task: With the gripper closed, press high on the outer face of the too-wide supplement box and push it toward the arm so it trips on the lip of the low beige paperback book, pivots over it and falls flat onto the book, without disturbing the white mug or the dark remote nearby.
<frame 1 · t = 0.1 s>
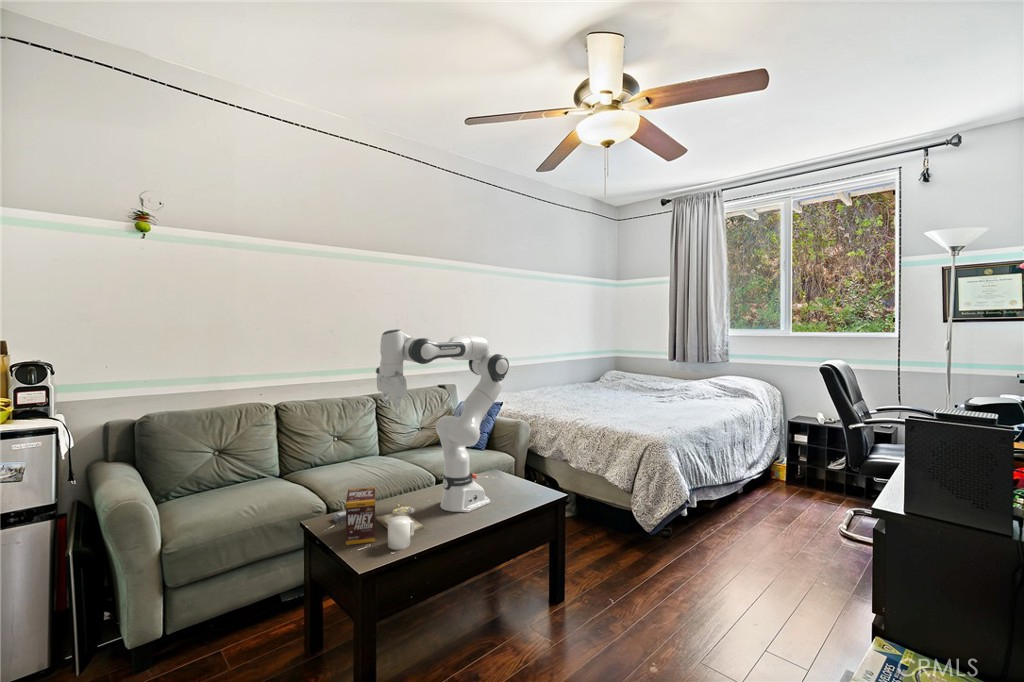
hand: (391, 405, 188), 48 cm above the table, fingers open, 8 cm apart
supplement box: (361, 535, 181), on the table
beige paperback book: (399, 523, 191), on the table
white mug: (399, 544, 173), on the table
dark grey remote: (354, 517, 197), on the table
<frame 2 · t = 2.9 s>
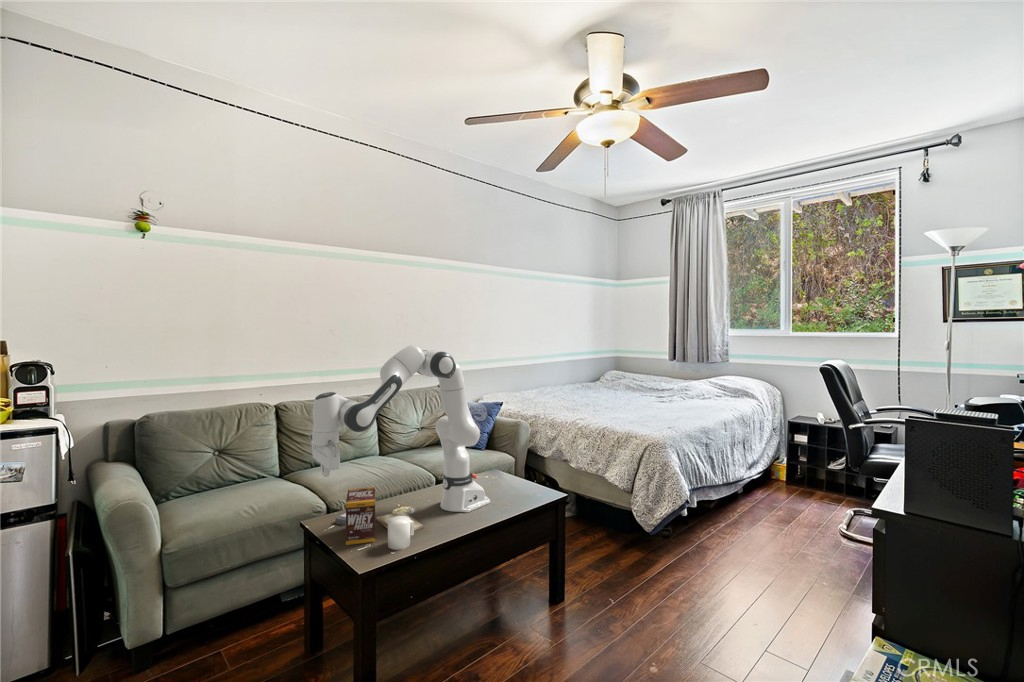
hand: (325, 475, 171), 25 cm above the table, fingers closed
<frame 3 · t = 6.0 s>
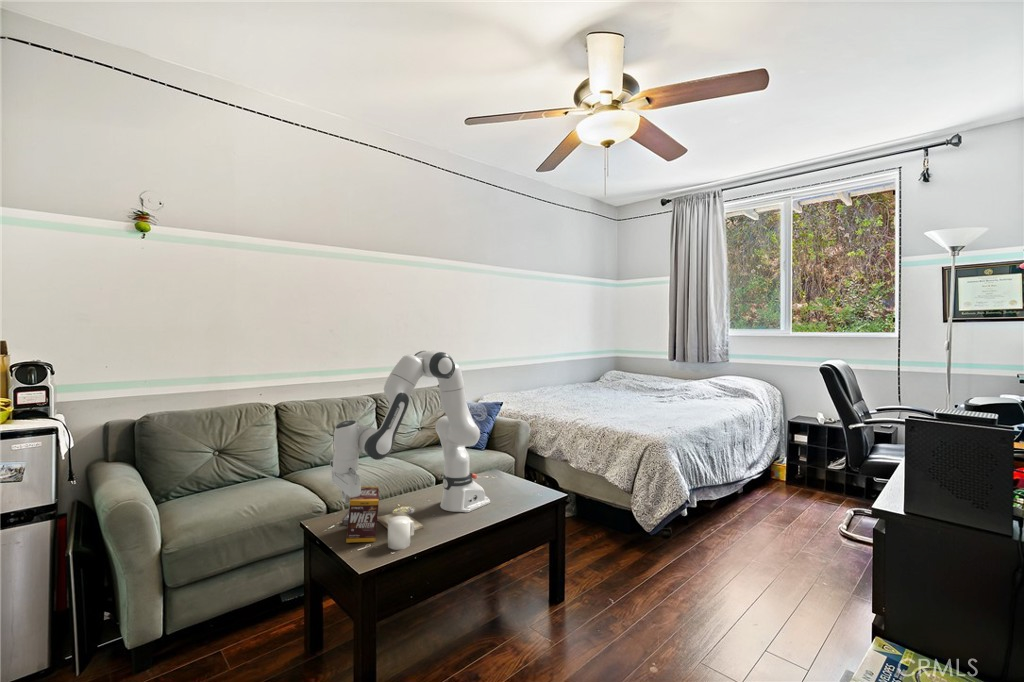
hand: (346, 501, 176), 14 cm above the table, fingers closed
supplement box: (361, 534, 181), on the table, touching gripper
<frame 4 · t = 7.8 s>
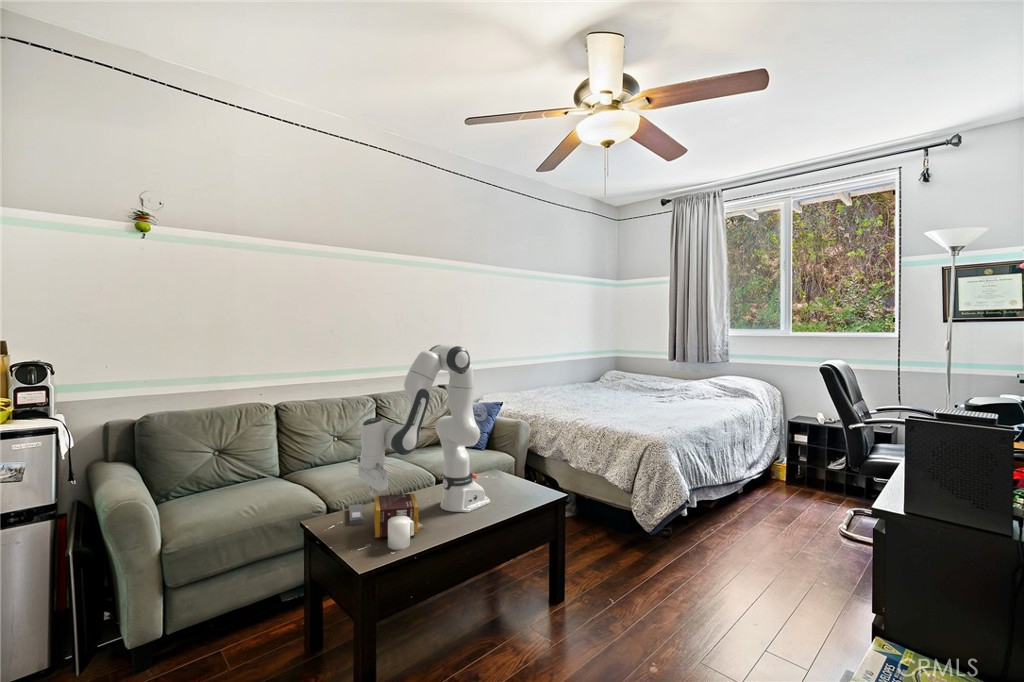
hand: (373, 495, 183), 14 cm above the table, fingers closed
supplement box: (374, 516, 182), point 7 cm above the table, touching beige paperback book
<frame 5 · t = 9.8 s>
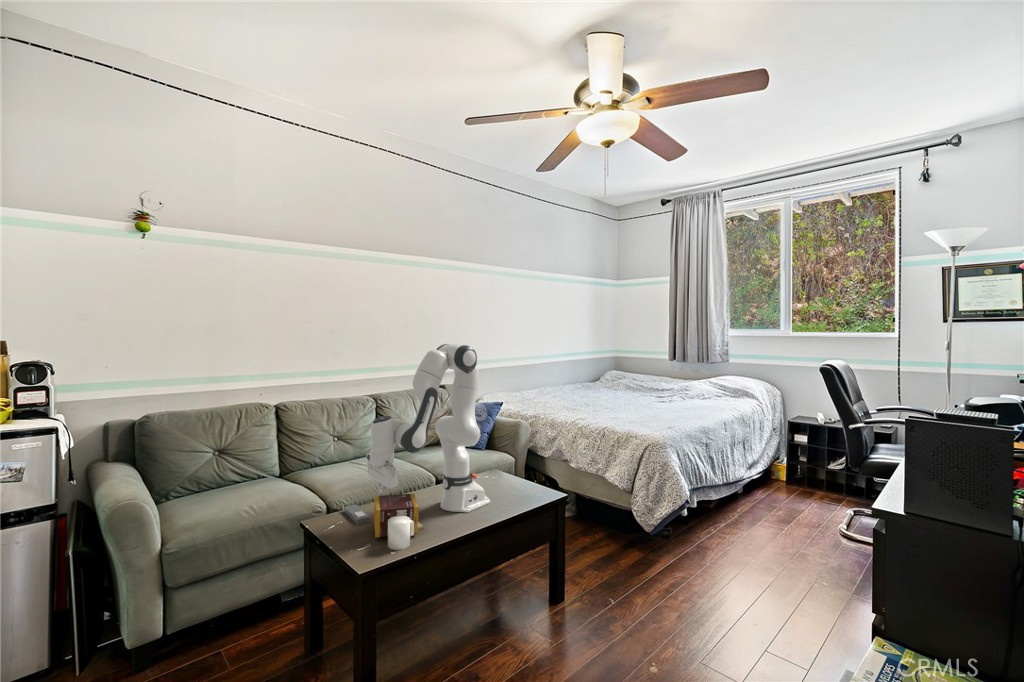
hand: (382, 493, 185), 14 cm above the table, fingers closed
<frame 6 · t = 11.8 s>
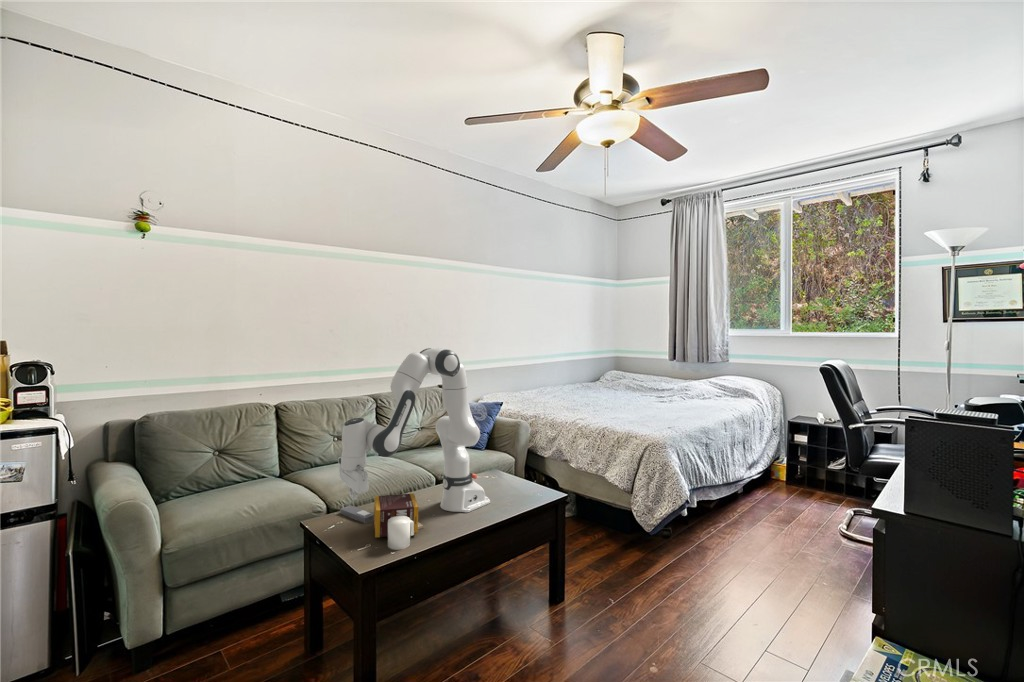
hand: (353, 498, 178), 15 cm above the table, fingers closed
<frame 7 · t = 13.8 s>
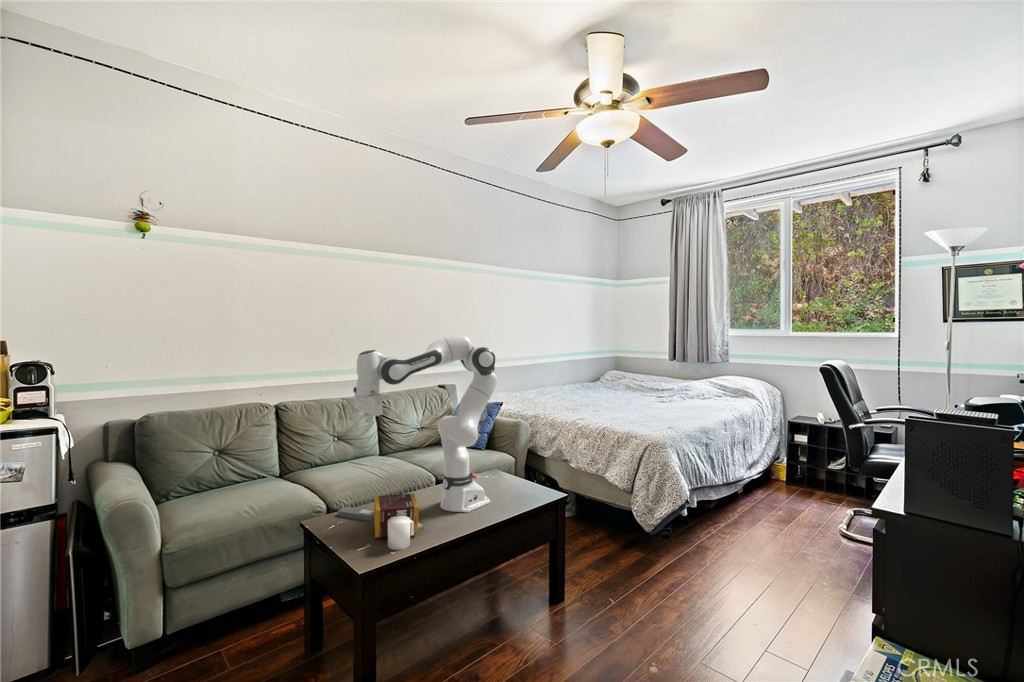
hand: (369, 423, 196), 39 cm above the table, fingers closed
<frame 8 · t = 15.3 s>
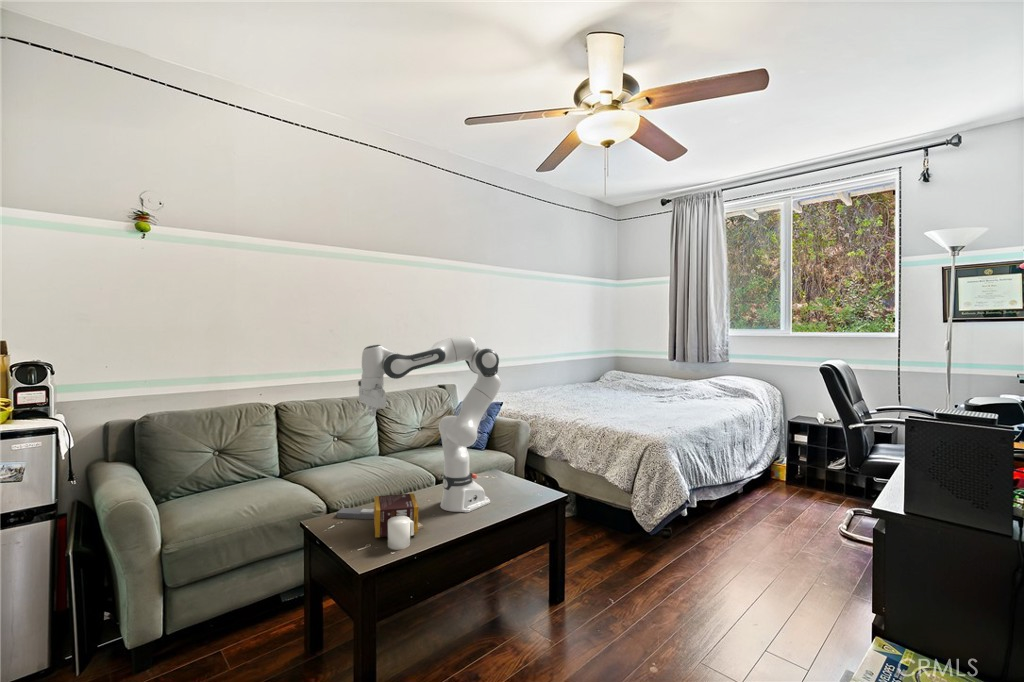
hand: (372, 416, 200), 41 cm above the table, fingers closed
at the end: supplement box tilted 91°; supplement box inside the target area (12.1 cm from its centre), point 6.5 cm above the table; white mug moved 0.1 cm from its start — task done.
